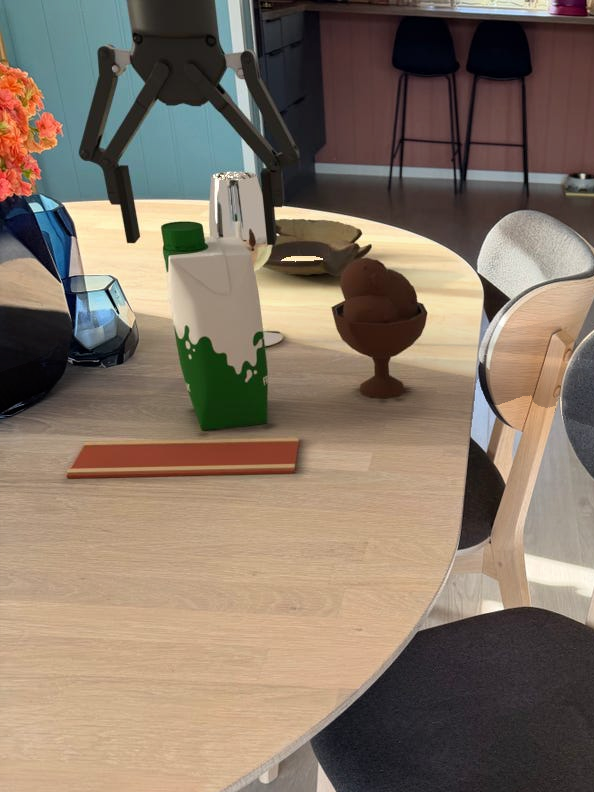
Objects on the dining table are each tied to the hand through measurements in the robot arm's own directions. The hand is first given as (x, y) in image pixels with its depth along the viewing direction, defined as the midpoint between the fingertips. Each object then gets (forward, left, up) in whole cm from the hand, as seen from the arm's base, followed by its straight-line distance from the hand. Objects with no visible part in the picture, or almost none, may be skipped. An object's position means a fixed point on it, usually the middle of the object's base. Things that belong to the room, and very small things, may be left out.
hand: (203, 241), depth 93 cm
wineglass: (0, +26, -19) cm, 32 cm away
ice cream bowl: (+17, +7, -19) cm, 26 cm away
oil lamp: (+5, +59, -19) cm, 62 cm away
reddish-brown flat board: (-3, -11, -18) cm, 22 cm away
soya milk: (0, 0, -19) cm, 19 cm away
